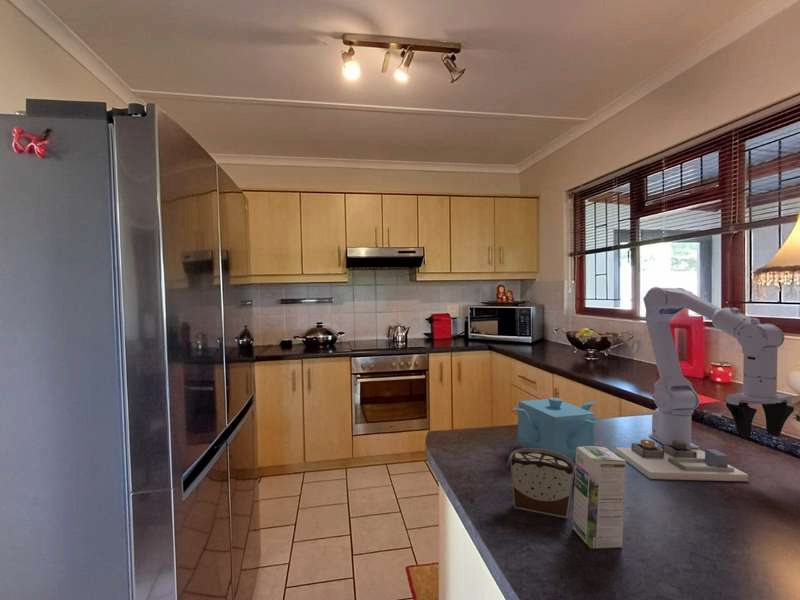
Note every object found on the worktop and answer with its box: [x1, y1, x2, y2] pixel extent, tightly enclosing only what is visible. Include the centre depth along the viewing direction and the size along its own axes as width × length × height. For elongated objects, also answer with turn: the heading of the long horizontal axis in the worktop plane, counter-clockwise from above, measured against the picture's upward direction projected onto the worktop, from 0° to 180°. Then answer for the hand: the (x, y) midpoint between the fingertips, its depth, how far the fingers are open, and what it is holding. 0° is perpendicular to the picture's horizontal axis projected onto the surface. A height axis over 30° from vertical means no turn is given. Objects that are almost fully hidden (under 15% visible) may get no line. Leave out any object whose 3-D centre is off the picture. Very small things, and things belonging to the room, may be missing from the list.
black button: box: [672, 440, 687, 451], centre depth 98 cm, size 3×3×2 cm
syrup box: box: [572, 445, 627, 550], centre depth 65 cm, size 6×6×14 cm
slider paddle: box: [704, 448, 729, 467], centre depth 91 cm, size 4×2×3 cm, turn 0°
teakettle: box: [512, 397, 599, 464], centre depth 98 cm, size 19×19×15 cm
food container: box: [507, 447, 576, 519], centre depth 75 cm, size 12×6×10 cm, turn 71°
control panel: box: [614, 442, 749, 482], centre depth 94 cm, size 14×22×3 cm, turn 90°
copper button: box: [640, 439, 656, 450], centre depth 98 cm, size 3×3×2 cm
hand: (758, 435), depth 89 cm, fingers open, 7 cm apart
